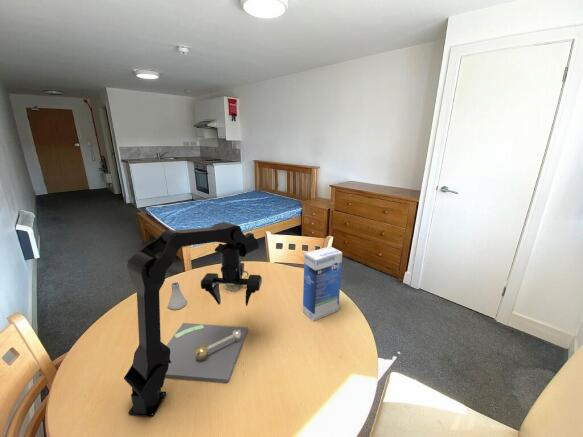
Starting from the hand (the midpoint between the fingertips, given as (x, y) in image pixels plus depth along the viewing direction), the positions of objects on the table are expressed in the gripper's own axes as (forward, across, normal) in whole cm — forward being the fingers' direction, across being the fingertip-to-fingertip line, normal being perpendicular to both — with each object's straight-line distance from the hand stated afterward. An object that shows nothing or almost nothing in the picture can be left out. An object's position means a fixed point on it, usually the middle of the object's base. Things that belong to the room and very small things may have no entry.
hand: (233, 304), depth 88 cm
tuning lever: (+11, +3, +7) cm, 14 cm away
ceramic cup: (+14, +8, -32) cm, 36 cm away
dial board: (+13, +9, +7) cm, 17 cm away
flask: (+13, +28, -17) cm, 36 cm away
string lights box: (+14, -30, -17) cm, 37 cm away
